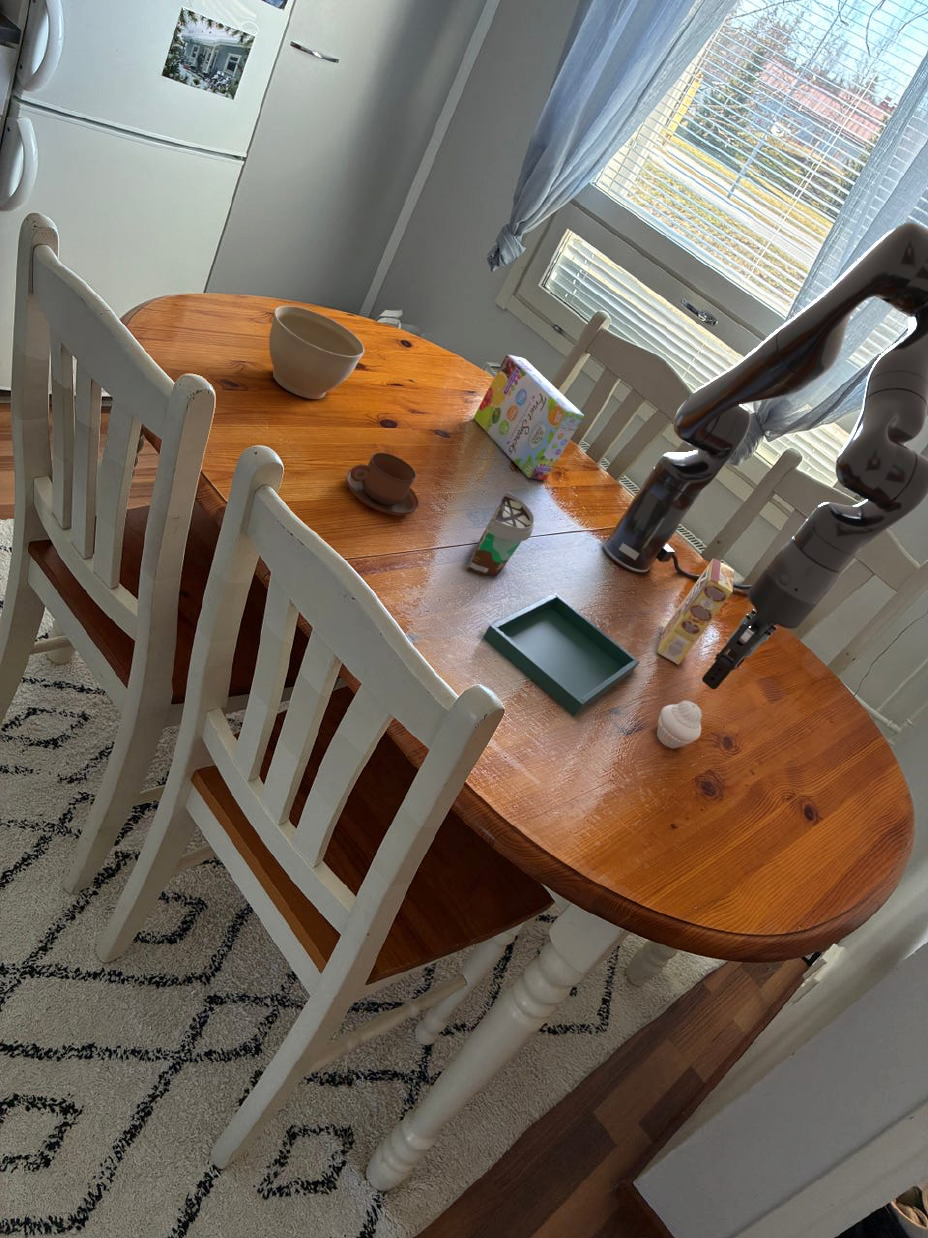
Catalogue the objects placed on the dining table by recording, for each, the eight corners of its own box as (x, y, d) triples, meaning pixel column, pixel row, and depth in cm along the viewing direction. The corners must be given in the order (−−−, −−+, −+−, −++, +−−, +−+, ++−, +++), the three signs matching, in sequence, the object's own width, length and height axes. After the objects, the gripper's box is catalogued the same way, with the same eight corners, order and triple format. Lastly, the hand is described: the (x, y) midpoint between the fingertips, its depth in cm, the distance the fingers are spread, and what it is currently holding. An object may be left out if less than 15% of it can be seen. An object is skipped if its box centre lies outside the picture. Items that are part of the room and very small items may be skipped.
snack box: (547, 481, 183) (586, 415, 175) (527, 479, 179) (566, 412, 171) (491, 420, 194) (525, 356, 186) (471, 417, 190) (504, 351, 183)
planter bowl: (335, 422, 161) (359, 366, 155) (245, 382, 157) (266, 323, 151) (347, 388, 174) (369, 335, 168) (264, 350, 170) (284, 295, 165)
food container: (501, 593, 141) (532, 541, 136) (464, 574, 141) (494, 521, 135) (512, 557, 152) (541, 508, 146) (478, 540, 151) (507, 489, 146)
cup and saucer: (370, 524, 140) (386, 490, 136) (328, 476, 145) (342, 442, 142) (427, 521, 148) (444, 489, 145) (385, 476, 154) (400, 444, 151)
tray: (548, 603, 145) (555, 592, 144) (631, 672, 140) (640, 661, 139) (482, 637, 129) (489, 625, 128) (573, 716, 125) (582, 704, 123)
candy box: (678, 666, 148) (734, 593, 141) (655, 653, 149) (710, 579, 141) (682, 641, 156) (736, 570, 148) (660, 628, 156) (713, 556, 148)
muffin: (661, 756, 127) (690, 721, 123) (640, 722, 131) (667, 687, 127) (693, 757, 130) (722, 722, 127) (671, 724, 134) (699, 690, 131)
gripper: (805, 615, 109) (724, 711, 117) (833, 587, 120) (757, 676, 129) (753, 575, 111) (677, 672, 119) (785, 551, 122) (713, 641, 131)
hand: (719, 674), depth 124 cm, fingers open, 8 cm apart
